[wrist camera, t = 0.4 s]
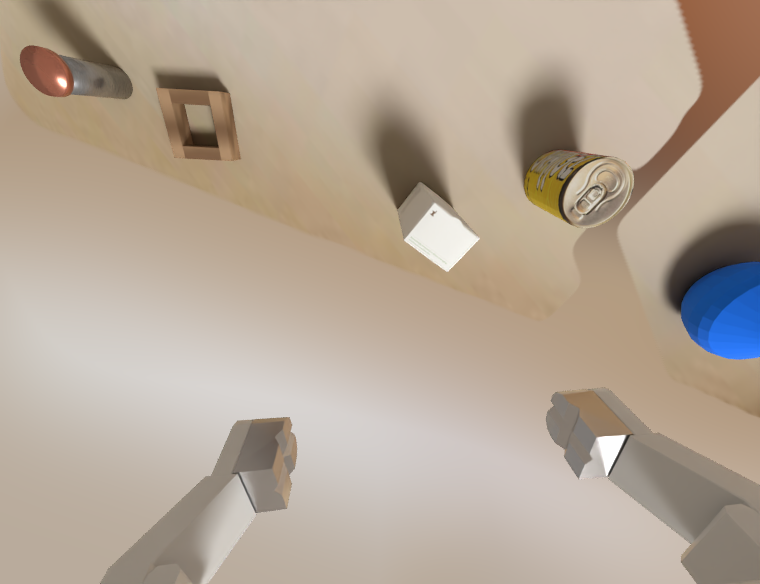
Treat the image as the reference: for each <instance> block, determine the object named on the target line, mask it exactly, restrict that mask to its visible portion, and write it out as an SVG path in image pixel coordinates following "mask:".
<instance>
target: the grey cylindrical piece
mask: <svg viewBox="0 0 760 584" xmlns="http://www.w3.org/2000/svg"><path fill="white" fill-rule="evenodd" d="M20 63H21V67H22V70H23V72H24V74H25V76H26V77H27V79H28V80H29V81H30V83H31V84H32V85H33V86H34V87H35V88H36V89H38V90H39V91H40V92H42V93H44V94H46V95H49V96H55V97H66V96H69V95H70V94H74V95H85V96H95V97H106V98H116V99H127V98H129V97H130V96H131V94H132V90H133V89H132V83H131V81H130V79H129V77H128V76H127V74H126V73H125V72H124V71H122V70H121V69H119V68H117V67H114V66H109V65H104V64H99V63H95V62H90V61H85V60H80V59H76V58H71V57H66V56H61V55H57V54H56V53H55V52H53V51H51V50H49V49H47V48H43V47H38V46H27V47H25V48H24V49H23V50H22V52H21V54H20Z"/></svg>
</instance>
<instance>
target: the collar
mask: <svg viewBox="0 0 760 584" xmlns="http://www.w3.org/2000/svg"><path fill="white" fill-rule="evenodd" d="M156 90H157V94H158V98H159V101H160V105H161V109H162V113H163V116H164V120H165V124H166V128H167V131H168V135H169V139H170V143H171V146H172V150H173V154H174V158H188V159H206V160H224V161H234V160H238V159H241V158H240V152H239V146H238V140H237V134H236V128H235V122H234V116H233V110H232V104H231V98H230V93H225V92H220V91H202V90H184V89H166V88H156ZM184 104H191V105H209V106H211V110H212V115H213V120H214V125H215V130H216V135H217V140H218V145H219V146H203V145H194V144H193V140H192V136H191V132H190V127H189V123H188V119H187V114H186V110H185V106H184Z"/></svg>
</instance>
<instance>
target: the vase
mask: <svg viewBox="0 0 760 584" xmlns="http://www.w3.org/2000/svg"><path fill="white" fill-rule="evenodd" d="M681 319H682V321H683V324H684V326H685V328H686V330H687V332H688V333H689V335H690V337H691V339H692V340H694V341H695V342H696V343H697V344H698V345H700V346H701V347H702V348H704V349H705V350H706V351H708V352H710V353H713V354H716V355H718V356H721V357H724V358H728V359H749V358H757V357H760V262H747V263H739V264H735V265H730V266H726V267H723V268H720V269H717V270H715V271H713V272H711V273H709V274H707V275H705V276H703V277H702V278H700V279H699V280H698V281H696V282H695V283H694V284H693V285H692V286H691V287H690V289H689V290H688V292H687V293H686V294H685V296H684V298H683V301H682V304H681Z"/></svg>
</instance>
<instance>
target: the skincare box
mask: <svg viewBox="0 0 760 584" xmlns="http://www.w3.org/2000/svg"><path fill="white" fill-rule="evenodd" d="M398 215H399V220H400V224H401V229H402V233H403V238H404V241H405V242H407V243H408V244H410V245H411V246H412V247H414V248H415V249H416V250H418V251H419V252H420V253H422V254H423V255H424V256H426V257H427V258H428V259H430V260H431V261H433V262H434V263H435V264H437V265H438V266H440V267H441V268H442V269H444V270H445V271H447V272H448V271H449V270H450V269H451V268H452V267H453V266H454V265H455V264H456V263H457V262H458V261H459V260H460V259H461V258H462V257H463V255H464V254H465V253H466V252H467V251H468V250H469V249H470V248H471V247H472V246H473V245H474V244H475V243H476V242H477V241H478V240H479V237H478V235H477V234H476V233H475V232H474V231H473V230H472V229H471V228H470V227H469V226H468V224H467V223H466V222H465V221H464V220H463V219H462V218H461V217H460V216H459V215H458V213H457V212H456V211H455V210H454V209H453V208H452V207H451V206H450V205H449V204H448V203H447V202H445V201H444V200H443V199H442V198H441V197H440V196H438V195H437V194H436V193H435V192H433V191H432V190H431V189H429V188H428V187H427V186H426V185H424V184H423V183H422V182H419V183H418V184H417V185H416V187H415V188H414V189H413V190H412V192H411V193H410V194H409V196H408V197H407V198H406V200H405V201H404V202H403V204H402V205H401V206H400V208H399V209H398Z"/></svg>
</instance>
